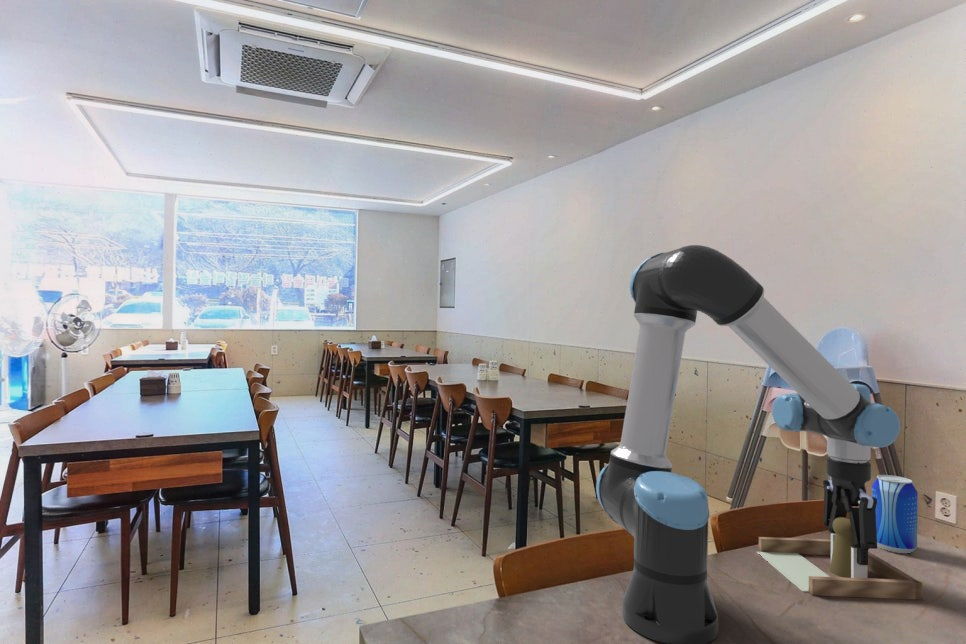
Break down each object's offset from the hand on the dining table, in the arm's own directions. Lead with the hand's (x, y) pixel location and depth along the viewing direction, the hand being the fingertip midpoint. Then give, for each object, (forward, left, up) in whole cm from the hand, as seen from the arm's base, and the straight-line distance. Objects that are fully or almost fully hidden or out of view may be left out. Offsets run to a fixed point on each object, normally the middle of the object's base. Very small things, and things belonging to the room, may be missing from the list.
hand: (848, 571), depth 111 cm
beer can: (+20, +15, 0) cm, 25 cm away
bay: (-3, 0, 0) cm, 3 cm away
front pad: (-10, 0, 0) cm, 10 cm away
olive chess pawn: (0, 0, 0) cm, 1 cm away
